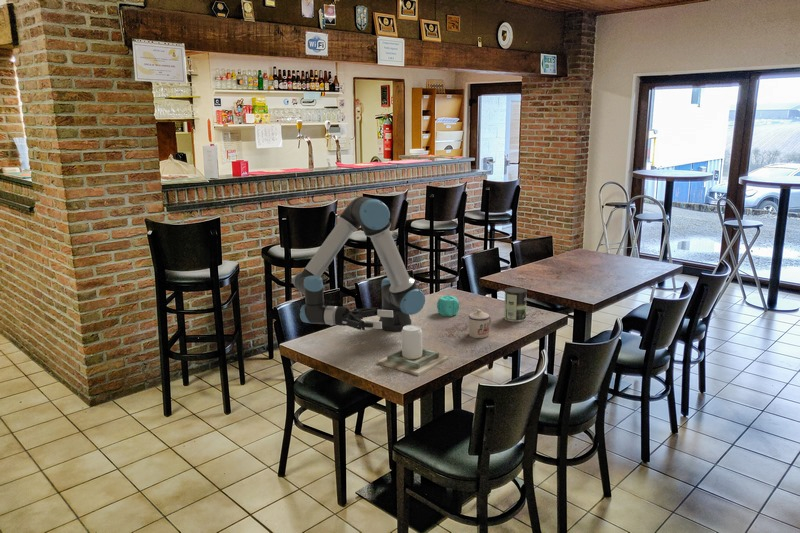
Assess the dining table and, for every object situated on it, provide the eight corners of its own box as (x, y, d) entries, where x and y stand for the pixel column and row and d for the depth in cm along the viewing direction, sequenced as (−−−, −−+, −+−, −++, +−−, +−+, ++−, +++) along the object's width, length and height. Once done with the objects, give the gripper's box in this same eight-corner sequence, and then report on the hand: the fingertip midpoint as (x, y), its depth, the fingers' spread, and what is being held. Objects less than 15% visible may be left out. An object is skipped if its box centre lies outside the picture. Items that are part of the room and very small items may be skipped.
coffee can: (525, 315, 293) (526, 287, 290) (526, 322, 283) (527, 293, 280) (503, 314, 295) (504, 286, 292) (504, 321, 285) (504, 292, 282)
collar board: (377, 363, 239) (377, 356, 238) (408, 348, 254) (408, 341, 253) (418, 375, 227) (418, 368, 226) (448, 358, 242) (448, 351, 241)
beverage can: (425, 358, 241) (425, 329, 238) (407, 361, 238) (406, 332, 235) (417, 351, 248) (416, 323, 245) (398, 354, 245) (398, 326, 242)
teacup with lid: (479, 340, 262) (479, 314, 259) (464, 334, 269) (464, 309, 266) (498, 333, 269) (498, 308, 267) (482, 328, 276) (483, 304, 273)
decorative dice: (445, 317, 293) (445, 301, 291) (436, 312, 300) (436, 297, 298) (459, 314, 297) (459, 298, 295) (450, 310, 303) (450, 294, 301)
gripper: (349, 314, 258) (397, 318, 252) (325, 335, 235) (376, 339, 229) (348, 297, 256) (396, 300, 250) (323, 316, 233) (376, 320, 227)
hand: (387, 319), depth 239 cm, fingers open, 13 cm apart
